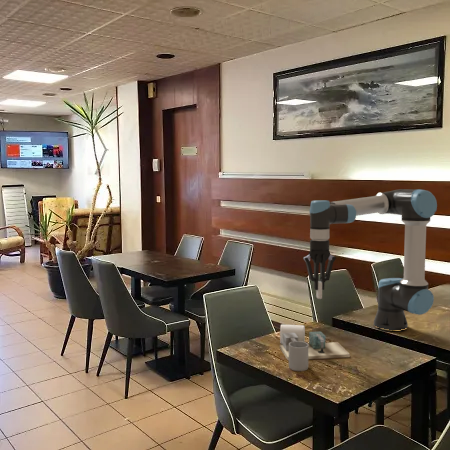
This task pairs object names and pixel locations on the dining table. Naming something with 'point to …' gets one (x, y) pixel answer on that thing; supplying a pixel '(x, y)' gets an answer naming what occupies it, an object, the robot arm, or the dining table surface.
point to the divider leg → (317, 340)
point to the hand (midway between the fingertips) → (319, 297)
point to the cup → (298, 356)
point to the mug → (293, 331)
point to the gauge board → (328, 352)
